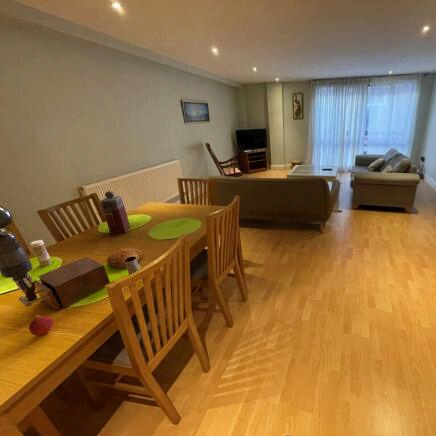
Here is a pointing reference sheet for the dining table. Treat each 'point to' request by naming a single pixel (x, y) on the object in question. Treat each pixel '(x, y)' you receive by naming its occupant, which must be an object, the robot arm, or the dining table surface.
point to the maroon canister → (115, 213)
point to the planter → (131, 265)
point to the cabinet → (76, 280)
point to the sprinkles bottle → (41, 253)
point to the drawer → (43, 295)
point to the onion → (41, 325)
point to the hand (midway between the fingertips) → (33, 299)
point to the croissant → (123, 257)
